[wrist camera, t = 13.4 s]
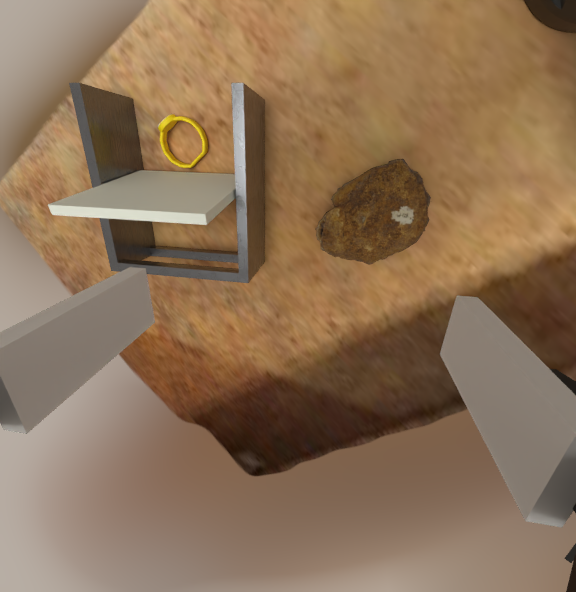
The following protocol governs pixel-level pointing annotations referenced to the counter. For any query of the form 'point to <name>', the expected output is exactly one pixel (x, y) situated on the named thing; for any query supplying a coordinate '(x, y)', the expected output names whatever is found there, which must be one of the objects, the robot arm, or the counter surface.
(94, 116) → the stand
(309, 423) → the counter surface
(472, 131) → the counter surface
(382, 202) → the decorative rock
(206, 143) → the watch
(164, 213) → the trapdoor
